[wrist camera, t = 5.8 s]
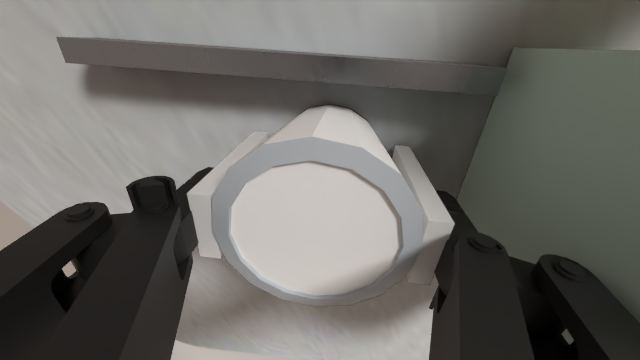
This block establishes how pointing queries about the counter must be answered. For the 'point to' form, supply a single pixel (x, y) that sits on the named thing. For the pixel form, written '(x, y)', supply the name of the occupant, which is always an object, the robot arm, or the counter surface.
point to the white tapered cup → (319, 212)
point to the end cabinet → (564, 164)
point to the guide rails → (286, 65)
